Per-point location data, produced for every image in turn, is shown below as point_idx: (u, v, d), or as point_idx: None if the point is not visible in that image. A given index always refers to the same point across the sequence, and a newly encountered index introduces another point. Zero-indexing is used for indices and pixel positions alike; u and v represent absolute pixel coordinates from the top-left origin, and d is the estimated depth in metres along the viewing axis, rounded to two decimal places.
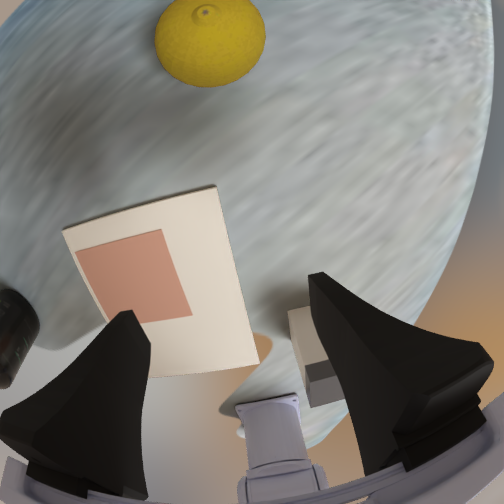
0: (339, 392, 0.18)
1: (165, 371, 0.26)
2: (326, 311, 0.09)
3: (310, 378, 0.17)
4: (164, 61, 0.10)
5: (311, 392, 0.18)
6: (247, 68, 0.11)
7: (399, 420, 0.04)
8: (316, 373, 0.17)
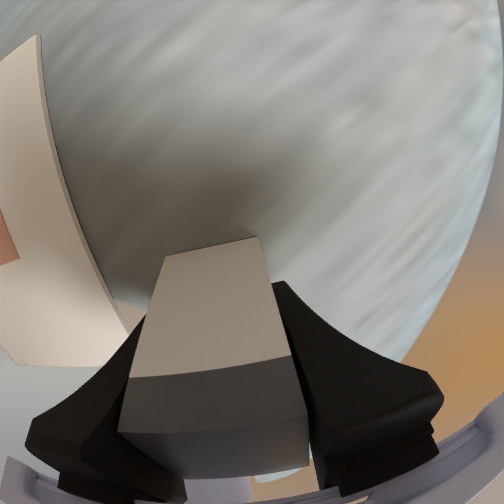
0: (247, 465, 0.06)
1: (29, 357, 0.13)
2: None
3: (123, 419, 0.05)
4: None
5: (150, 455, 0.05)
6: None
7: (325, 446, 0.04)
8: (145, 409, 0.05)
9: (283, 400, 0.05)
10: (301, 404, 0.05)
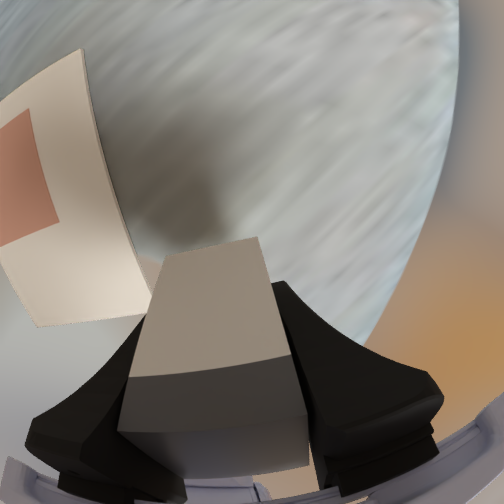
0: (247, 465, 0.06)
1: (52, 316, 0.17)
2: None
3: (123, 419, 0.05)
4: None
5: (150, 454, 0.05)
6: None
7: (325, 446, 0.04)
8: (144, 408, 0.05)
9: (283, 399, 0.05)
10: (301, 403, 0.05)
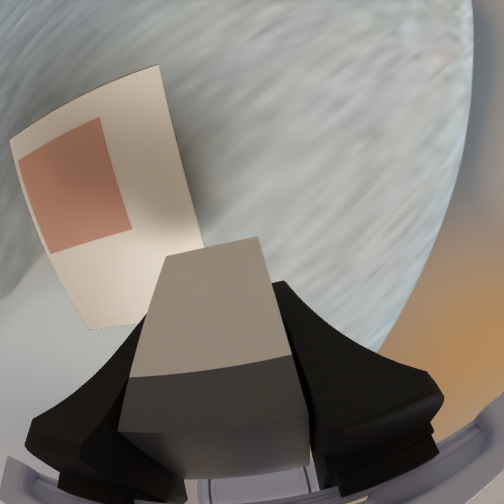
0: (247, 465, 0.06)
1: (110, 319, 0.21)
2: None
3: (123, 419, 0.05)
4: None
5: (150, 455, 0.05)
6: None
7: (325, 447, 0.04)
8: (145, 409, 0.05)
9: (284, 400, 0.05)
10: (302, 404, 0.05)
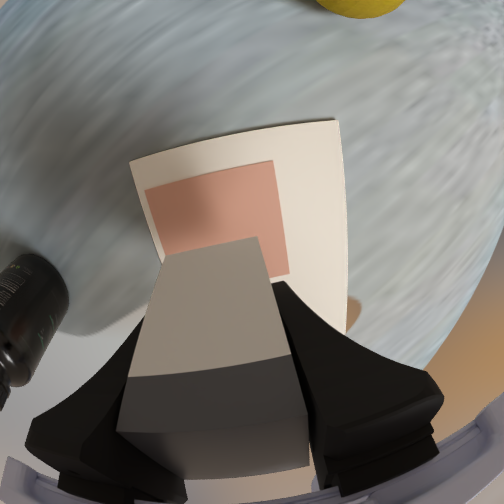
0: (247, 465, 0.06)
1: None
2: None
3: (122, 419, 0.05)
4: None
5: (149, 455, 0.05)
6: None
7: (325, 446, 0.04)
8: (143, 408, 0.05)
9: (283, 400, 0.05)
10: (301, 404, 0.05)
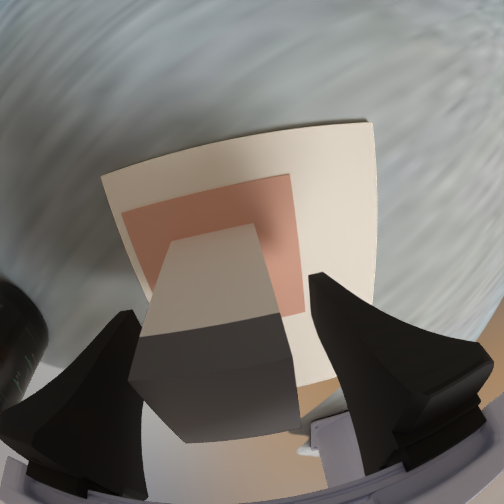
0: (243, 422, 0.07)
1: None
2: (325, 312, 0.09)
3: (133, 370, 0.06)
4: None
5: (155, 409, 0.06)
6: None
7: (399, 420, 0.04)
8: (153, 360, 0.06)
9: (272, 346, 0.06)
10: (287, 350, 0.06)
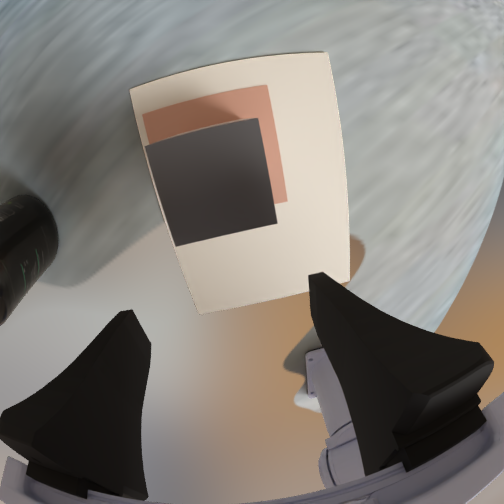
0: (226, 200, 0.10)
1: (232, 299, 0.22)
2: (326, 312, 0.09)
3: (150, 144, 0.09)
4: None
5: (157, 183, 0.09)
6: None
7: (399, 420, 0.04)
8: (165, 139, 0.09)
9: None
10: None
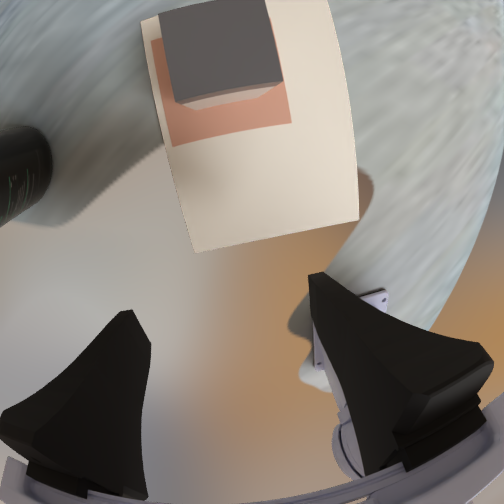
0: (231, 56, 0.08)
1: (232, 234, 0.20)
2: (325, 312, 0.09)
3: None
4: None
5: (165, 42, 0.07)
6: None
7: (399, 420, 0.04)
8: None
9: None
10: None
